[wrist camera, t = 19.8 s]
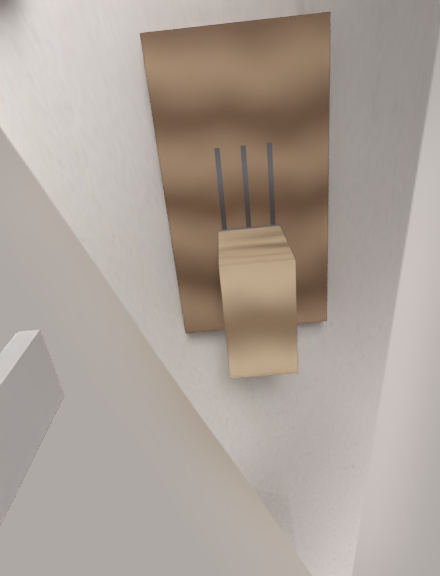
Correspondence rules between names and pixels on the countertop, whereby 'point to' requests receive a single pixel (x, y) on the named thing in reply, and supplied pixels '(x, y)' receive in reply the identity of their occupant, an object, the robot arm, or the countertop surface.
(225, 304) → the block
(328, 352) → the countertop surface
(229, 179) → the walnut board
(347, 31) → the countertop surface
